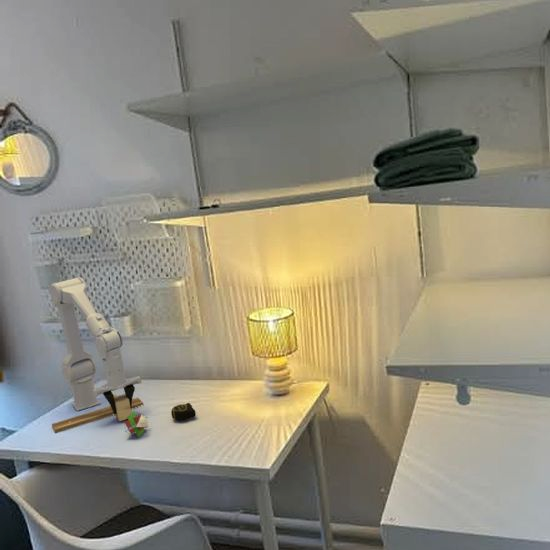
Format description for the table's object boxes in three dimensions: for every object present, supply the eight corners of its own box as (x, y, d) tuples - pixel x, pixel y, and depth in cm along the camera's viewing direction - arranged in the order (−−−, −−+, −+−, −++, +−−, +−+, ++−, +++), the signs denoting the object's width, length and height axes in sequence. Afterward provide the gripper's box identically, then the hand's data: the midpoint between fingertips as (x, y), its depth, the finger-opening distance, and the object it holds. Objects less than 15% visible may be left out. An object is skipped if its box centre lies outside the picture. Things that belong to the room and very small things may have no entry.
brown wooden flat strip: (52, 426, 190) (51, 423, 190) (138, 400, 203) (137, 397, 203) (55, 433, 185) (54, 429, 185) (143, 405, 198) (142, 402, 197)
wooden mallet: (109, 408, 196) (106, 391, 195) (121, 405, 198) (118, 388, 197) (119, 421, 185) (115, 402, 184) (132, 417, 187) (128, 399, 186)
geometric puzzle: (115, 432, 174) (125, 412, 171) (127, 422, 180) (137, 402, 177) (135, 446, 173) (145, 426, 170) (146, 435, 179) (156, 415, 177)
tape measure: (197, 420, 180) (195, 408, 180) (174, 425, 178) (172, 414, 178) (193, 412, 187) (191, 400, 186) (171, 417, 185) (169, 406, 184)
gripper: (93, 379, 179) (102, 422, 181) (140, 366, 186) (148, 407, 188) (88, 374, 185) (97, 415, 188) (134, 361, 192) (142, 401, 194)
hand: (122, 410), depth 188 cm, fingers closed on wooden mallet, 4 cm apart
